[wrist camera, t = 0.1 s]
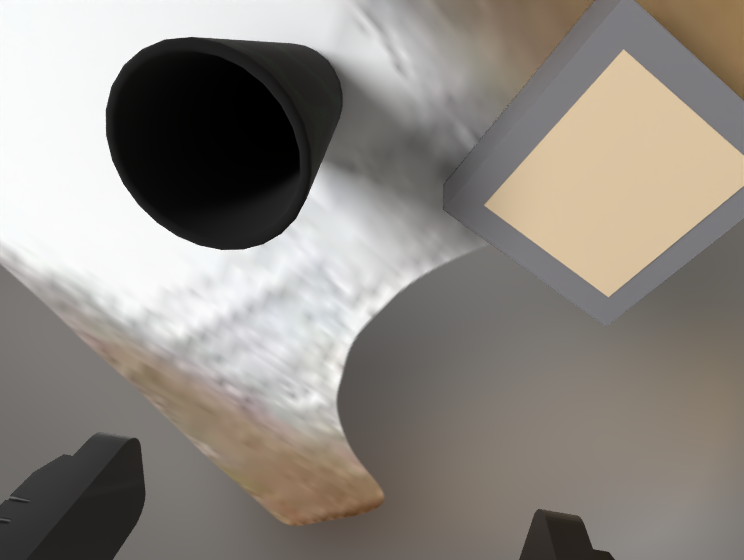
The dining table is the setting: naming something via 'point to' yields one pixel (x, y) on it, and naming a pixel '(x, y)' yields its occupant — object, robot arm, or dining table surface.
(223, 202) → the cup
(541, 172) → the plinth
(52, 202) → the dining table surface
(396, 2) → the dining table surface
